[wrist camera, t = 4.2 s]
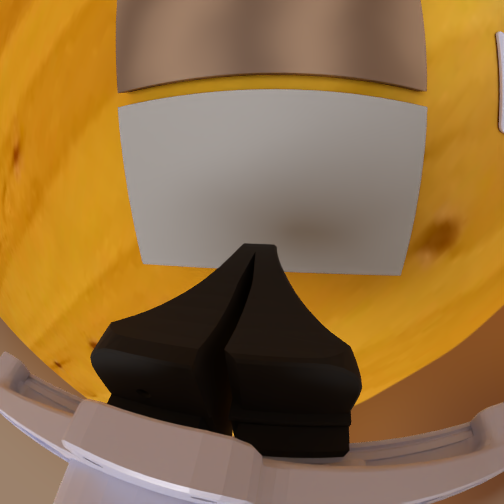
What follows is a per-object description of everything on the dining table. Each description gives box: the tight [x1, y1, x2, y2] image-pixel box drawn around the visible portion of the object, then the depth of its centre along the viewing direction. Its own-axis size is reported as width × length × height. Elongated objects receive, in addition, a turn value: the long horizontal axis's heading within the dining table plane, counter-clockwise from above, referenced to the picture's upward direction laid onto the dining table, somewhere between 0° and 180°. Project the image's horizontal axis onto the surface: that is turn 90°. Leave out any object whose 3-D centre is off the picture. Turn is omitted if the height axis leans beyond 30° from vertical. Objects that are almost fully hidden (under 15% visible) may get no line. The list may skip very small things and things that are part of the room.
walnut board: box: [116, 0, 427, 93], centre depth 10 cm, size 18×9×1 cm, turn 91°
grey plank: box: [118, 89, 427, 276], centre depth 16 cm, size 18×11×1 cm, turn 91°
